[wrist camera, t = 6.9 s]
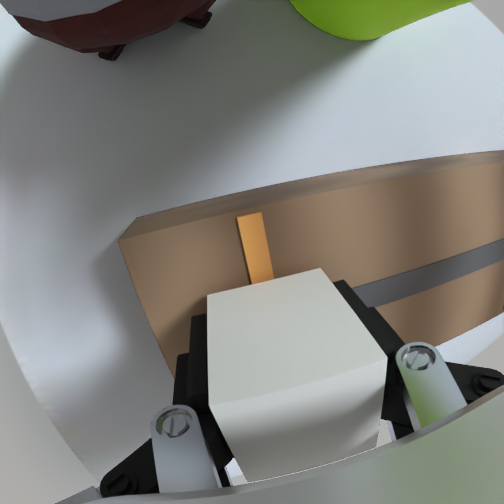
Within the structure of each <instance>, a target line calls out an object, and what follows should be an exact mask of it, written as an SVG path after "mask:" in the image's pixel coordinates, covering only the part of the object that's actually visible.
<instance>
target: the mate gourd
mask: <svg viewBox="0 0 504 504" xmlns="http://www.w3.org/2000/svg"><path fill="white" fill-rule="evenodd" d="M215 1H216V0H0V3H1V4H2V6H3V7H4V8H5V9H6V10H7V12H8V13H9V14H11V15H12V16H13V17H14V18H15V19H16V21H17V22H18V23H19V24H20V25H21V27H22V28H24V29H25V30H27V31H28V32H30V33H31V34H32V35H35V36H38V37H41V38H44V39H47V40H49V41H52V42H54V43H56V44H59V45H61V46H64V47H67V48H70V49H72V50H75V51H78V52H81V53H95V52H99V53H98V56H99V57H100V58H103V59H106V60H110V61H115V60H116V59H117V58H118V56H119V55H120V53H121V51H122V50H123V48H124V46H125V45H126V44H128V43H131V42H133V41H136V40H138V39H141V38H143V37H146V36H149V35H151V34H154V33H157V32H159V31H162V30H165V29H167V28H169V27H170V26H172V25H173V24H175V23H176V22H178V21H180V22H183V23H185V24H188V25H191V26H194V27H197V28H200V29H202V28H204V27H205V26H206V25H207V23H208V22H209V20H210V18H211V17H212V13H211V12H209V11H207V10H209V8H210V7H211V6H212V5H213V4H214V2H215Z"/></svg>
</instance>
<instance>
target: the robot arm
mask: <svg viewBox="0 0 504 504" xmlns="http://www.w3.org/2000/svg"><path fill="white" fill-rule="evenodd" d="M332 283H333V285H334V286H335V287H336V289H337V290H338V291H339V293H340V294H341V295H342V296H343V298H344V299H345V300H346V302H347V303H348V304H349V306H350V307H351V308H352V310H353V311H354V312H355V314H356V315H357V316H358V318H359V319H360V320H361V322H362V323H363V324H364V326H365V327H366V329H367V330H368V331H369V333H370V334H371V335H372V337H373V338H374V339H375V341H376V342H377V344H378V345H379V346H380V348H381V349H382V350H383V352H384V353H385V355H386V356H387V357H388V359H387V370H386V379H385V388H384V396H383V404H382V411H381V419H384V420H387V424H388V428H389V431H390V435H391V439H392V442H391V443H388V444H386V445H383V446H380V447H378V448H375V449H373V450H370V451H368V452H365V453H362V454H359V455H356V456H353V457H351V458H348V459H345V460H342V461H339V462H335V463H332V464H329V465H326V466H322V467H319V468H315V469H311V470H308V471H304V472H300V473H296V474H292V475H288V476H283V477H279V478H274V479H270V480H265V481H260V482H254V483H249V484H243V485H237V486H233V485H232V482H231V479H230V476H229V474H228V471H227V468H226V465H227V464H228V463H229V462H230V461H231V460H232V458H235V457H234V455H233V453H232V452H231V450H230V448H229V446H228V444H227V442H226V440H225V438H224V436H223V434H222V432H221V430H220V428H219V426H218V424H217V422H216V419H215V417H214V415H213V413H212V411H211V409H210V407H209V392H208V346H207V313H204V314H199V315H195V316H192V317H191V329H190V343H189V353H184V354H179V355H178V356H177V363H176V373H175V383H174V394H173V405H172V406H169V407H166V408H164V409H162V410H161V411H159V412H158V413H157V414H156V415H155V416H154V418H153V420H152V422H151V437H152V438H150V439H149V440H148V441H147V442H145V443H144V444H143V445H142V446H141V447H139V448H138V449H137V450H136V451H134V452H133V453H132V454H131V455H130V456H128V457H127V458H126V459H125V460H123V461H122V462H121V463H119V464H118V465H117V466H116V467H114V468H113V469H112V470H111V471H109V472H108V473H107V474H106V475H105V476H104V477H103V479H102V481H101V484H100V487H98V488H95V487H94V486H92V487H90V488H88V489H86V490H84V491H82V492H80V493H77V494H75V495H73V496H71V497H69V498H67V499H65V500H62V501H60V502H58V503H56V504H504V375H503V374H502V373H500V372H498V371H497V370H494V369H490V368H483V367H476V366H469V365H463V364H457V363H451V362H445V361H444V360H443V358H442V356H441V354H440V353H439V351H438V350H437V349H436V348H435V347H434V346H432V345H431V344H428V343H425V342H413V343H409V344H405V343H404V342H403V340H402V339H401V338H400V337H399V336H398V334H397V333H396V332H395V331H394V330H393V328H392V327H391V326H390V325H389V324H388V322H387V321H386V320H385V319H384V318H383V317H382V315H381V314H380V313H379V312H378V311H377V310H376V309H375V308H374V307H367V306H366V305H365V304H364V303H363V301H362V300H361V299H360V298H359V297H358V295H357V294H356V293H355V292H354V291H353V289H352V288H351V287H350V286H349V285H348V284H347V282H346V281H345V280H344V279H343V280H339V281H335V282H332Z"/></svg>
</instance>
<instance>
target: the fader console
mask: <svg viewBox="0 0 504 504" xmlns="http://www.w3.org/2000/svg"><path fill="white" fill-rule="evenodd" d="M118 243H119V246H120V249H121V252H122V255H123V257H124V260H125V263H126V266H127V269H128V271H129V274H130V277H131V279H132V282H133V285H134V287H135V290H136V292H137V295H138V297H139V300H140V302H141V305H142V307H143V310H144V312H145V315H146V317H147V320H148V322H149V324H150V327H151V329H152V331H153V334H154V336H155V338H156V340H157V343H158V345H159V347H160V349H161V351H162V354H163V356H164V358H165V360H166V362H167V364H168V367H169V369H170V371H171V373H172V375H173V377H174V379H175V373H176V363H177V356H178V355H179V354H184V353H189V343H190V329H191V317H192V316H195V315H199V314H204V313H207V295H209V294H214V293H218V292H222V291H227V290H231V289H235V288H240V287H244V286H248V285H252V284H257V283H261V282H265V281H269V280H273V279H277V278H281V277H285V276H290V275H294V274H298V273H302V272H306V271H310V270H314V269H318V268H321V269H322V270H323V272H324V273H325V274H326V276H327V277H328V278H329V279H330V281H331V282H335V281H339V280H343V279H344V280H345V281H346V282H347V284H348V285H349V286H350V287H351V288H352V289H353V291H354V292H355V293H356V294H357V295H358V297H359V298H360V299H361V300H362V301H363V303H364V304H365V305H366V306H367V307H374V308H375V309H376V310H377V311H378V312H379V313H380V314H381V315H382V317H383V318H384V319H385V320H386V321H387V322H388V324H389V325H390V326H391V327H392V328H393V330H394V331H395V332H396V333H397V334H398V336H399V337H400V338H401V339H402V340H403V342H404V343H405V344H409V343H413V342H425V343H428V344H431V345H432V346H434V347H435V346H438V345H440V344H442V343H444V342H446V341H448V340H451V339H453V338H455V337H457V336H459V335H461V334H463V333H465V332H467V331H469V330H471V329H473V328H475V327H477V326H479V325H481V324H483V323H485V322H486V321H488V320H490V319H492V318H494V317H496V316H497V315H499V314H501V313H503V312H504V150H499V151H488V152H478V153H469V154H459V155H451V156H442V157H434V158H427V159H419V160H412V161H405V162H398V163H391V164H385V165H378V166H372V167H366V168H360V169H354V170H348V171H343V172H337V173H331V174H326V175H321V176H315V177H310V178H305V179H300V180H295V181H290V182H285V183H280V184H275V185H270V186H266V187H261V188H256V189H252V190H247V191H243V192H238V193H234V194H229V195H225V196H221V197H217V198H212V199H208V200H204V201H200V202H196V203H192V204H188V205H184V206H180V207H176V208H172V209H168V210H164V211H161V212H157V213H153V214H149V215H146V216H142V217H138V218H136V219H135V220H134V222H133V223H132V224H131V225H130V226H129V228H128V229H127V230H126V231H125V233H124V234H123V235H122V236H121V238H120V239H119V240H118Z"/></svg>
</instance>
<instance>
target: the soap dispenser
mask: <svg viewBox="0 0 504 504" xmlns="http://www.w3.org/2000/svg"><path fill="white" fill-rule="evenodd" d="M470 1H473V0H290V2H291V3H292V5H293V6H294V7H295V9H296V10H297V11H298V12H299V13H300V14H301V15H302V16H303V17H304V18H305V19H306V20H308V21H309V22H310V23H312V24H313V25H314V26H316V27H318V28H319V29H321V30H323V31H325V32H327V33H329V34H331V35H334V36H337V37H340V38H344V39H348V40H356V41H365V40H372V39H376V38H379V37H381V36H383V35H385V34H388V33H390V32H392V31H394V30H396V29H399V28H401V27H403V26H406V25H408V24H411V23H413V22H415V21H418V20H420V19H423V18H425V17H428V16H430V15H433V14H436V13H438V12H441V11H444V10H447V9H449V8H452V7H455V6H458V5H461V4H464V3H467V2H470Z"/></svg>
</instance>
